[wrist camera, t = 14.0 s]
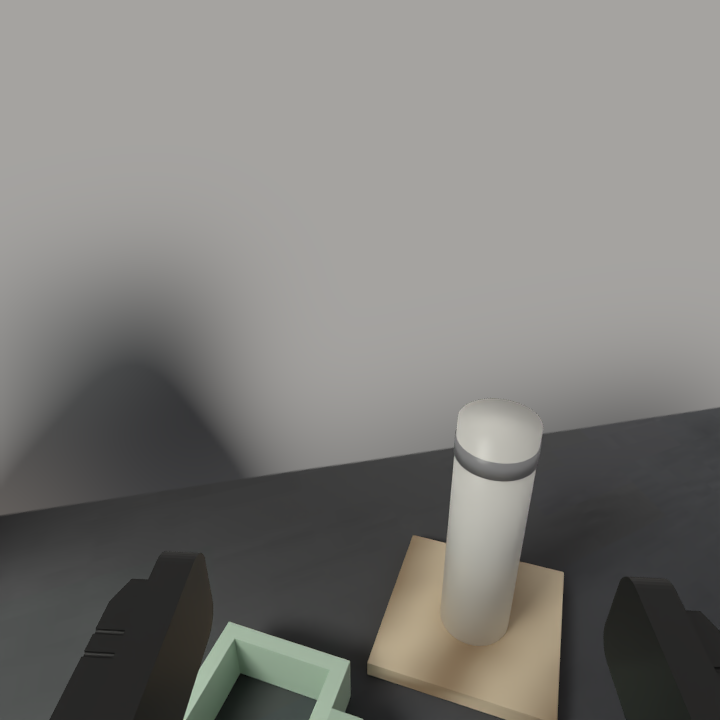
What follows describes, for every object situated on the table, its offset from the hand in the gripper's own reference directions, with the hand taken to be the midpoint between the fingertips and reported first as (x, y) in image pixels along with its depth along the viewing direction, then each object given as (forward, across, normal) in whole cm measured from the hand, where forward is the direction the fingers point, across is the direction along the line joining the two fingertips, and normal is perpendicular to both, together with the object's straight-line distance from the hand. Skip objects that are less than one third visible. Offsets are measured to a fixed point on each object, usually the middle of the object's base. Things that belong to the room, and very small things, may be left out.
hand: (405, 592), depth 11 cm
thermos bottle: (+15, -5, +21) cm, 26 cm away
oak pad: (+15, -5, +22) cm, 27 cm away
